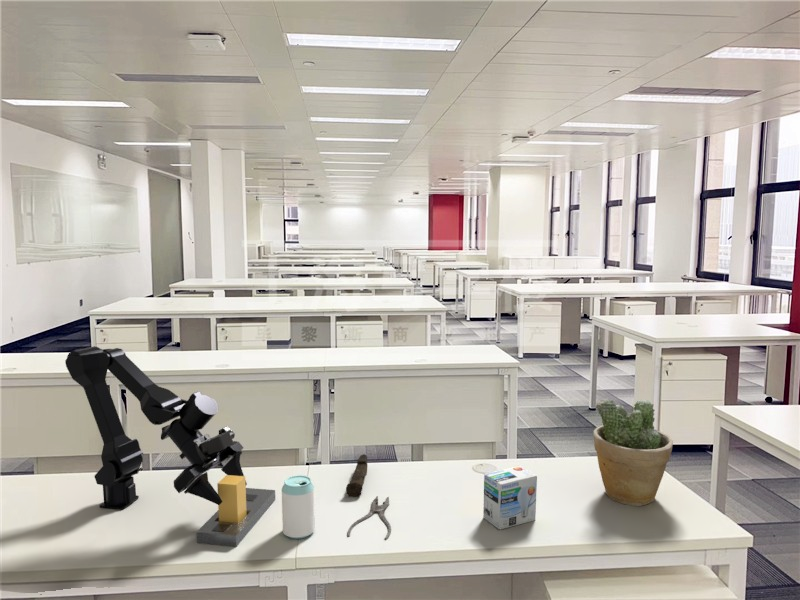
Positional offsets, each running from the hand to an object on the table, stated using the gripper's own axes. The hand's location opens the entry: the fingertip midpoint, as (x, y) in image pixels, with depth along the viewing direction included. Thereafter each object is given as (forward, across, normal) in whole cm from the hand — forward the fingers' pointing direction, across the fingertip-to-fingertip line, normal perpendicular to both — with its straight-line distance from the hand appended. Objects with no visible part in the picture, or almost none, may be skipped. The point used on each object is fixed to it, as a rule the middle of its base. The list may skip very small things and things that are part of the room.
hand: (233, 494), depth 133 cm
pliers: (+25, +14, -13) cm, 32 cm away
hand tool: (+17, +31, -6) cm, 36 cm away
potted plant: (+66, +46, -54) cm, 97 cm away
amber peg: (+5, 0, +6) cm, 8 cm away
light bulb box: (+47, +24, -35) cm, 63 cm away
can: (+16, +3, -5) cm, 17 cm away
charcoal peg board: (+5, +3, +6) cm, 8 cm away
